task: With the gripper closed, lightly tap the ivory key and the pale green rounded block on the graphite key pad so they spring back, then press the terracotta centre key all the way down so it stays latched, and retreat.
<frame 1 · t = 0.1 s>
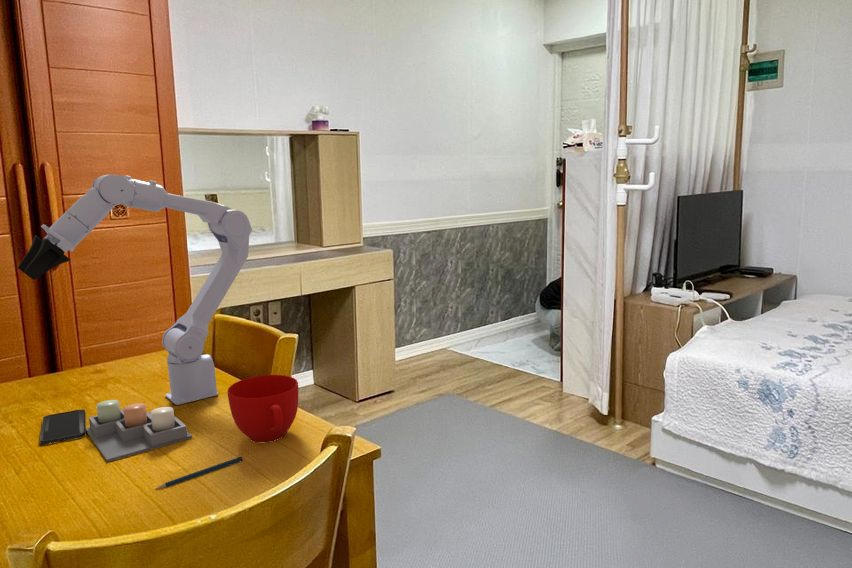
hand: (25, 273, 125), 32 cm above the table, tool tilted 50°, fingers open, 7 cm apart
ceramic cup: (270, 440, 123), on the table
phone: (64, 430, 132), on the table
ivory key: (162, 418, 125), point 4 cm above the table, slide at 0.0 cm
pale green rounded block: (108, 411, 129), point 4 cm above the table, slide at 0.0 cm
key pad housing: (137, 434, 128), on the table
pencil: (200, 477, 111), on the table
terracotta key: (135, 415, 127), point 4 cm above the table, slide at 0.0 cm
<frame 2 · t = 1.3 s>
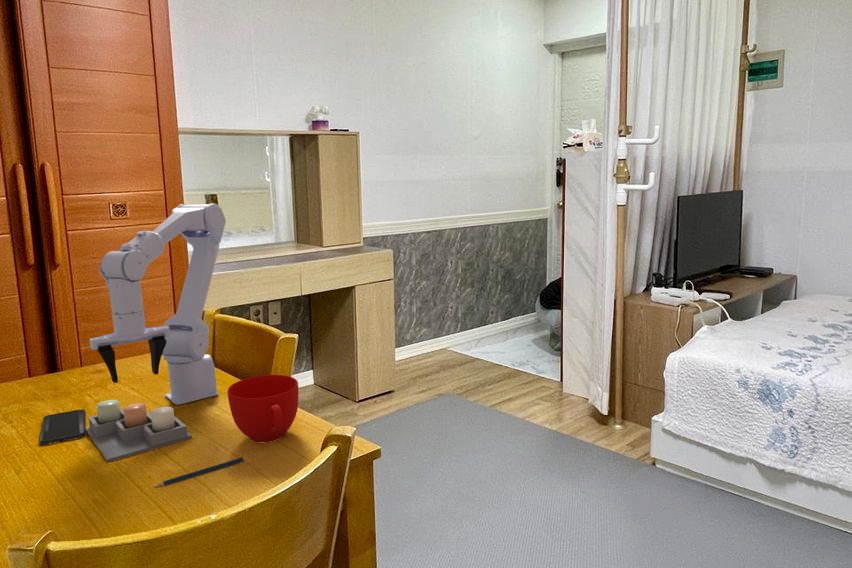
hand: (135, 377, 132), 10 cm above the table, tool pointing down, fingers open, 7 cm apart
nothing on the table moved.
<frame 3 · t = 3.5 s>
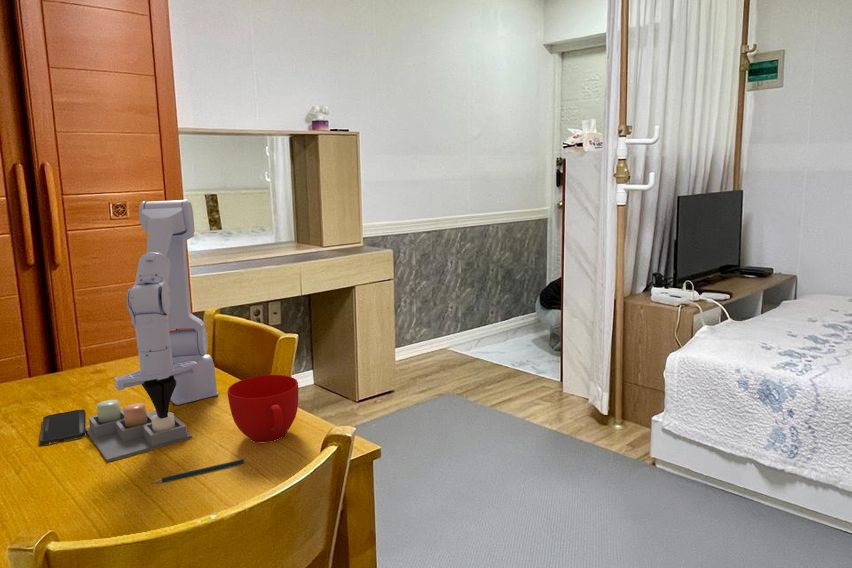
hand: (162, 416, 124), 4 cm above the table, tool pointing down, fingers closed, pressing on ivory key
ivory key: (163, 424, 125), point 3 cm above the table, slide at 1.1 cm, touching gripper
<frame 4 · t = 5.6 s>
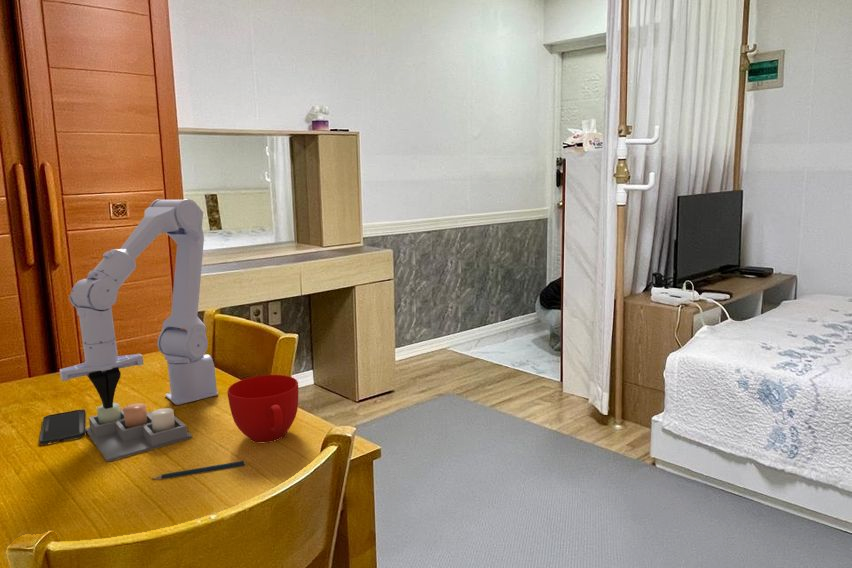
hand: (108, 406, 129), 5 cm above the table, tool pointing down, fingers closed, pressing on pale green rounded block
ivory key: (163, 420, 125), point 4 cm above the table, slide at 0.3 cm
pale green rounded block: (109, 414, 130), point 3 cm above the table, slide at 0.7 cm, touching gripper
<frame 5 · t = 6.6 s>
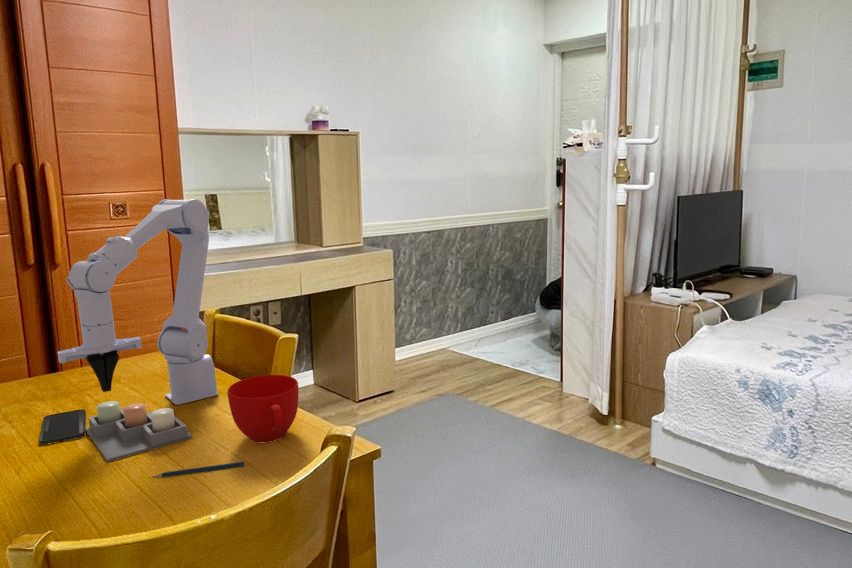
hand: (106, 390, 129), 8 cm above the table, tool pointing down, fingers closed
pale green rounded block: (109, 412, 130), point 4 cm above the table, slide at 0.3 cm
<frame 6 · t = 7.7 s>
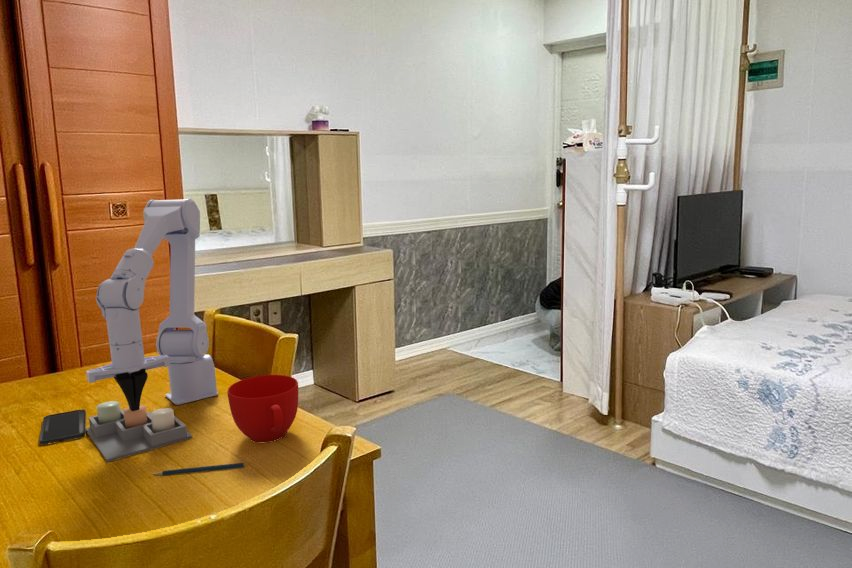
hand: (134, 409, 127), 5 cm above the table, tool pointing down, fingers closed, pressing on terracotta key
terracotta key: (135, 416, 127), point 4 cm above the table, slide at 0.4 cm, touching gripper
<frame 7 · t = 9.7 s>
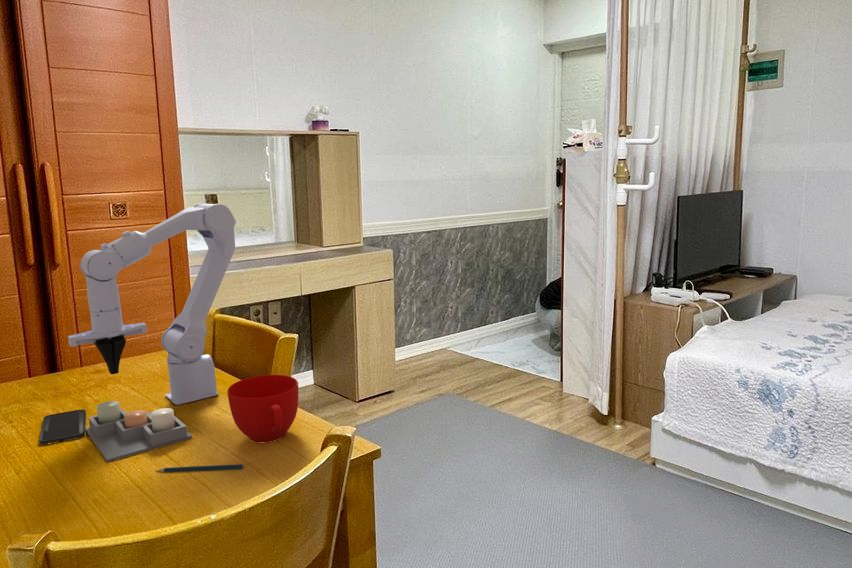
hand: (113, 372, 136), 9 cm above the table, tool pointing down, fingers closed
terracotta key: (136, 422, 127), point 2 cm above the table, slide at 1.5 cm
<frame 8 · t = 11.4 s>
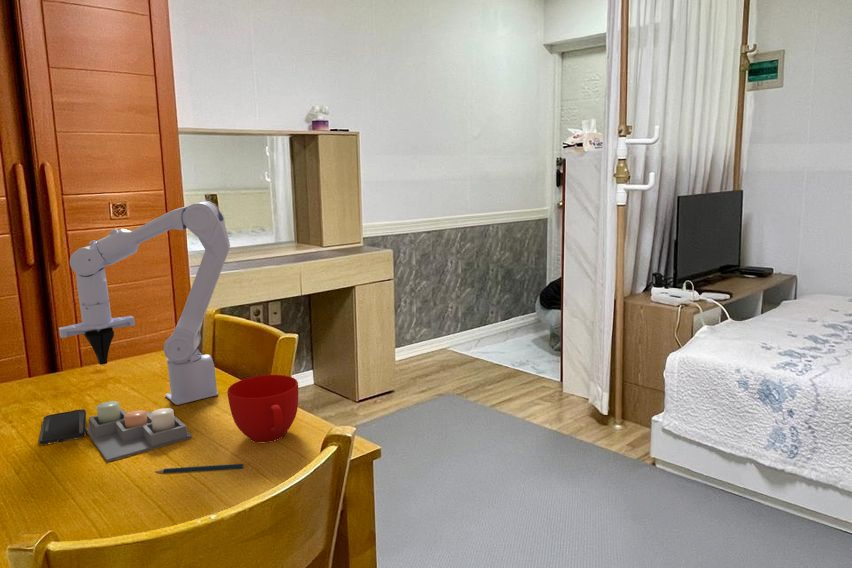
hand: (102, 363, 143), 9 cm above the table, tool pointing down, fingers closed
at the end: terracotta key slide at 1.5 cm; ivory key slide at 0.3 cm; pale green rounded block slide at 0.3 cm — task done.
